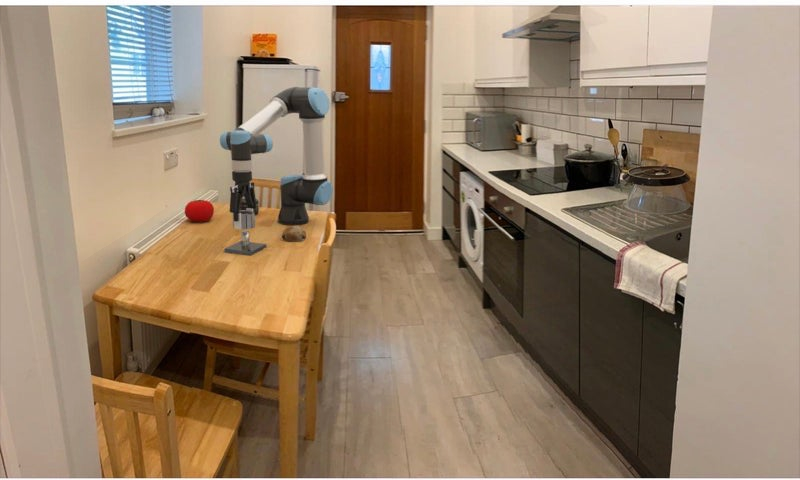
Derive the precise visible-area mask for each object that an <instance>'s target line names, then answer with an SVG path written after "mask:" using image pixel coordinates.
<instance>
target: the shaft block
mask: <svg viewBox="0 0 800 480" xmlns="http://www.w3.org/2000/svg"><path fill="white" fill-rule="evenodd" d="M240 239H241V240H240V241H237V242H236V243H234V244H231V245H229V246H226V247H225V248H223V250H224V253H230V254H235V255H236V254H237V255H246V256H253V255H255V254H257V253H259V252H261V251H263V250H265V248H267V243H261V242H252V241H250V231H248V230H247V229H243V230H241V231H240Z"/></svg>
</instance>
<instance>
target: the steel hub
mask: <svg viewBox="0 0 800 480" xmlns="http://www.w3.org/2000/svg"><path fill="white" fill-rule="evenodd" d="M239 213H241V229H240V230H241V231H244V230H251V229H252V230H253V229H254V228H256V218H255V216H256V215H255V212H254V211H250V210H242V211H241V210H240V212H239ZM232 227H233V229H234V214H233V213H232Z"/></svg>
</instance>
